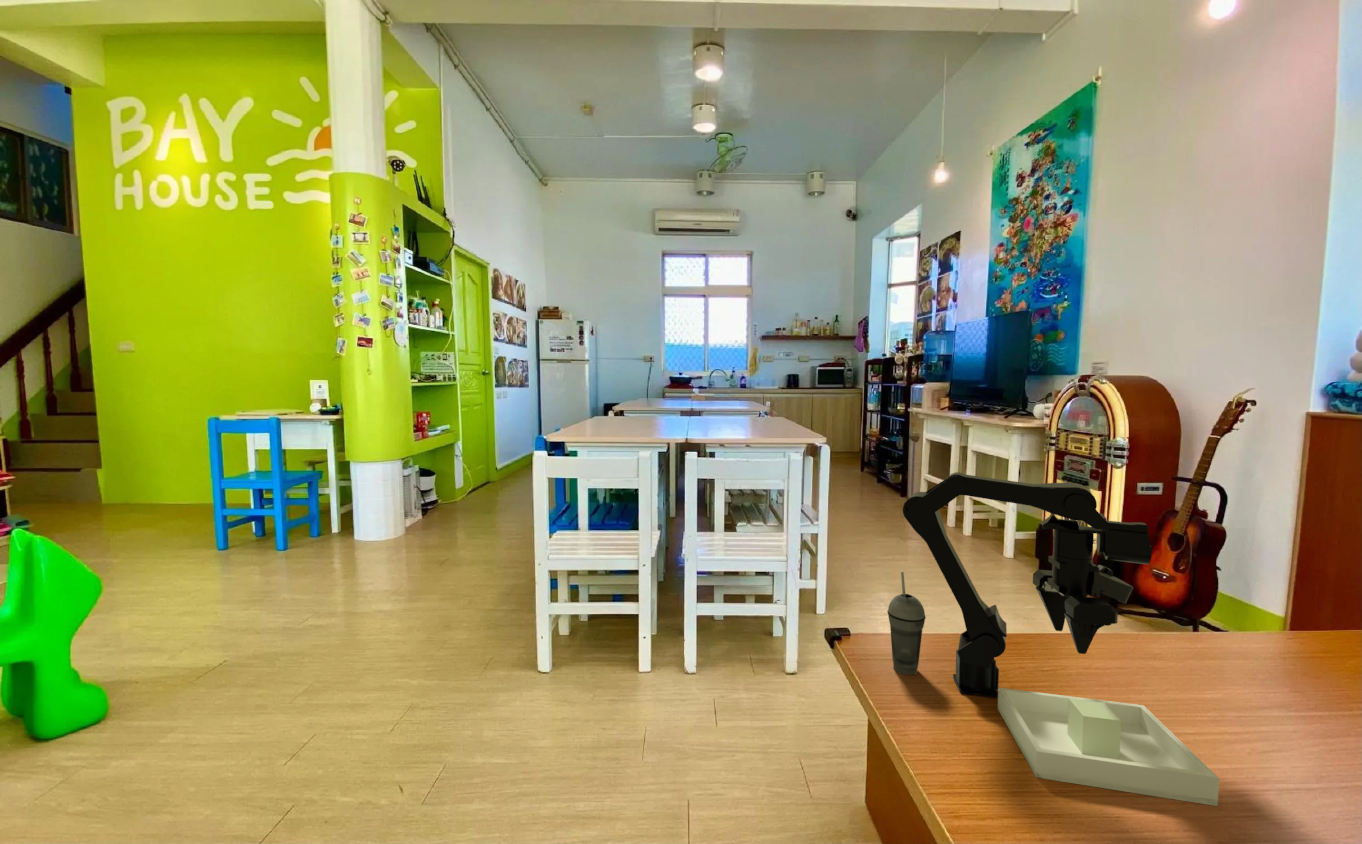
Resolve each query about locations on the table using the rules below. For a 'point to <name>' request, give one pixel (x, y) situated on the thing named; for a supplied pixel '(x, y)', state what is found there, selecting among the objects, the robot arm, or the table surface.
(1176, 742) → the bin
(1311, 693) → the table surface
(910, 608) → the beverage cup
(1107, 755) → the sage block
